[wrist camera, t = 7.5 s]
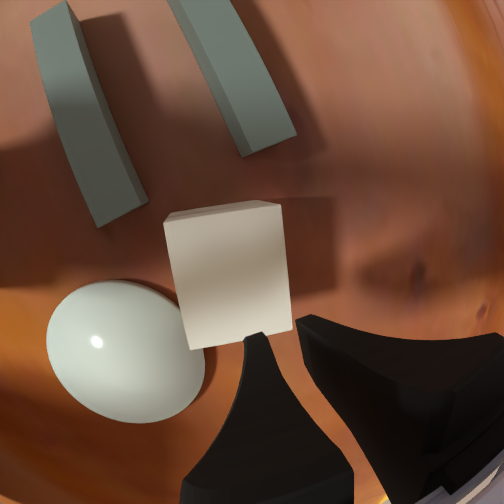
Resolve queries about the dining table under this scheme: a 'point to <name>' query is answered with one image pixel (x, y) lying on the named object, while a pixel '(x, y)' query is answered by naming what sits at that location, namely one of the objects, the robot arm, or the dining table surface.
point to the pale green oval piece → (124, 352)
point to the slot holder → (101, 120)
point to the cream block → (229, 271)
